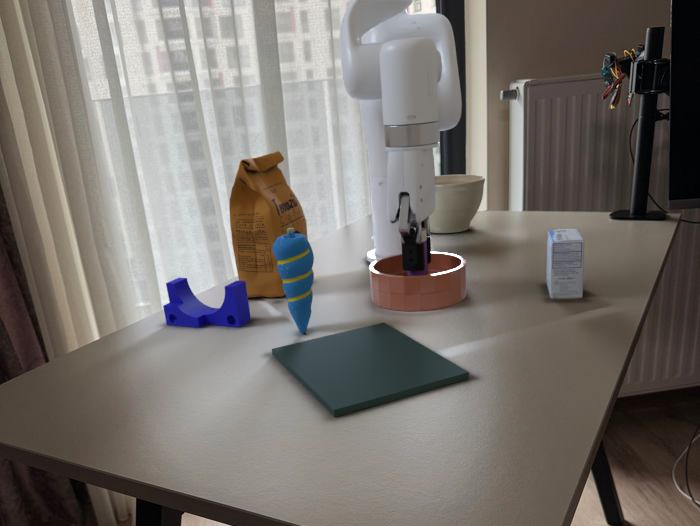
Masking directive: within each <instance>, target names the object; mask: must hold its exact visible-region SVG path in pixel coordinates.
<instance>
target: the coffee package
mask: <svg viewBox="0 0 700 526" xmlns="http://www.w3.org/2000/svg"><path fill="white" fill-rule="evenodd" d="M284 160H285V157H284V156H283V154H282V153H281V151H280V150H278V151H275V152H272V153H271V152H270V153H268V154H263V155H261V156H257V157H252V158H251V157H250V158H243V159H241V160H240V161H239V164H238V169H237V172H236V174H235V178H234V182H233V185H232V187H231V191H230V196H229V224H230V233H231V245H232V249H233V256H234V260H235V261H234V262H235V266H236V271H237V272H236V273H237V278H238V281H245V283H246V289H247V296H248V299H249V298H261V297H264V298H279V297H280V298H281V297H285V296H286V294H285V292H284V290H283V280H282V278H281V276H280V275H279V273H278V270H277V264H278V261H277V259H276V258H275V256H274V253H273V244H274V242H275V240H276V239H277V238H278V237H280V236H282V235H287V234H288V233H287V228H289V227H290V228H294V234H302V235H304V236H305V237H306V238H307V240H308V241H309V238H308V237H309V235H308V225H307V219H306V216H305V212H304V209H303V207H302V204H301V203H300V200H299V199H298V197H297V196H296V193H295V192H294V191H293V189H292V188H291V187H290V185H289V184H288V183H287V180H286V178H285V176H284V174H283V171H282V169H281V168H280V167H279V165H280V164H281V163H283V162H284ZM290 224H291V225H290Z"/></svg>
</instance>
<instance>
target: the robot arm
mask: <svg viewBox="0 0 700 526" xmlns="http://www.w3.org/2000/svg"><path fill="white" fill-rule="evenodd" d="M414 2H415V0H351V1H350V3H349V4H348V6H347V8H346V10H345V12H344V14H343V17H342V20H341V24H340V28H339V52H340V64H341V74H342V75H341V76H342V81H343V86H344V89H345V90H346V91H345V92H346V93H347V94H348V96H349V97H351V98H352V99H353V100H356V101H358V105H359V113H360V117H361V122H362V123H361V124H362V127H363V132H364V137H365V143H366V153H367V161H368V174H369V175H368V176H369V187H370V201H371V204H370V205H371V217H372V230H373V231H372V232H373V234H372V235H371V237H370V238H371V240H372V241H373V245H374V248H373V249H371V250H370V251H368V252H367V253H366V260H367V261H368V262H369V263H370V264H371V263H373V262H375V261H377V260H379V259H382V258H385V257H388V256H392V255H397V254H402V263H403V270H405V271H423V270H424V269H425V257H424V243H421V241H422V236H421V228H426V232H427V240H426V241H427V264H429V263H430V262H431V252H435V249H434V248H433V247H432V246H431V245H432V243H431V232H430V219H429V215H431V214H432V213H433V212H434V210H435V207H436V184H435V176H436V169H435V156H434V155H435V154H434V148H439V147H440V132H442V131H448V130H451V129H453V128H455V127H457V125H458V123H459V122H460V120H461V117H462V108H463V101H462V100H463V99H462V90H461V82H460V73H459V66H458V58H457V57H458V56H457V50H456V41H455V35H454V30H453V27H452V24H451V21H450V20H449V19H448V17H446V16H445V15H444V14H442V13H437V12H428V13H427V12H426V13H416V14H415V13H414V14H411V13H408V8H409V7H410V6H411V5H412V4H413V3H414ZM360 40H361V43H359V41H360ZM414 228H416V232H415V230H414Z"/></svg>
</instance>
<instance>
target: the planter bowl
mask: <svg viewBox="0 0 700 526" xmlns="http://www.w3.org/2000/svg"><path fill="white" fill-rule="evenodd" d="M485 182H486V177H485V176H483V175H480V174H443V175H442V174H441V175H435V184H436V207H435V210H434V212H433V213H432V214H431V215H429V219H430V233H434V234H453V233H459V232H466V231H467V230H469V228H470V225H471V222H472V220H473V219H474V218H475V216H476V214H477V213H478V211H479V209H480V207H481V203H482V200H483V196H484V188H485V187H484V185H485Z"/></svg>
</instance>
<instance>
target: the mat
mask: <svg viewBox="0 0 700 526" xmlns="http://www.w3.org/2000/svg"><path fill="white" fill-rule="evenodd" d="M271 354H272V356H273V357H274V358H275V359H276V360H277V361H278V362H279V363H280V364H281V365H282V366H283V367H284V368H285V369H286V370H287V371H288V373H290V374H291V375H292V376H293V377H294V378H295V379H296V380H297V381H298V382H299V383H300V384H301V385H302V386H303V387H304V388H305V389H306V390H307V391H308V392H309V393H310V394H311V395H312V396H313V397H314V399H316V400H317V401H318V402H319V403H320V404H321V405H322V406H323V407H324V408H325V410H327V411H328V412H329V413H330V414H331V415H332V416H333V417H334V418H337V417H340V416H343V415H346V414H350V413H353V412H357V411H361V410H364V409H368V408H372V407H375V406H378V405H382V404H386V403H388V402H393V401H396V400H400V399H403V398H406V397H410V396H413V395H416V394H421V393H423V392H427V391H431V390H434V389H438V388H442V387H445V386H447V385H452V384H456V383H458V382H463V381H466V380H470V372H469V371H468V370H466V369H464V368H463V367H461V366H459V365H458V364H456V363H454V362H452V361H451V360H449V359H448V358H446V357H444V356H442V355H440V353H437V352H435V351H434V350H432V349H431V348H429V347H427V346H426V345H424V344H422V343H420V342H418V341H417V340H415V339H414V338H411V337H410V336H408V335H406V334H405V333H403V332H401V331H399V330H398V329H396V328H394V327H393V326H392V325H389V324H388V323H387V322H379V323H375V324H371V325H366V326H362V327H359V328H354V329H350V330H345V331H341V332H337V333H333V334H328V335H325V336H320V337H316V338H312V339H308V340H304V341H300V342H296V343H295V342H294V343H291V344H286V345H281V346H278V347H273V348H271Z"/></svg>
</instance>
